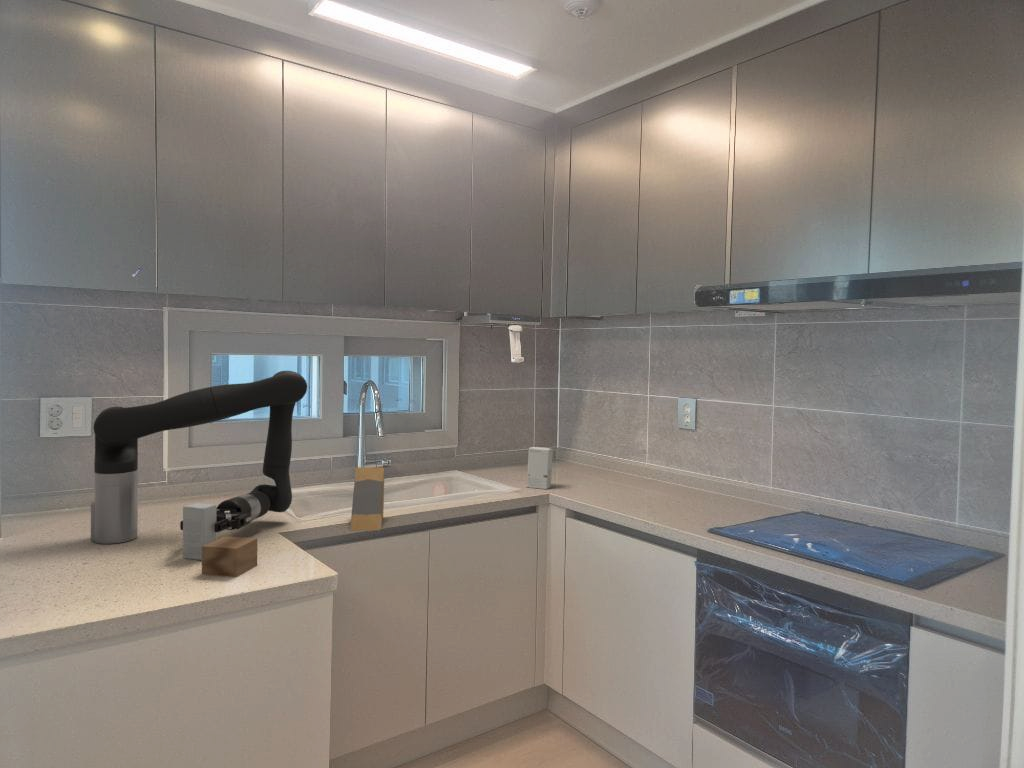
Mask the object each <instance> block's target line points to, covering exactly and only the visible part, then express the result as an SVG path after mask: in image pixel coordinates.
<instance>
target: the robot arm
mask: <svg viewBox="0 0 1024 768" xmlns="http://www.w3.org/2000/svg"><path fill="white" fill-rule="evenodd" d="M307 391H308V382H307V380H306V379H305V377H304V376H302V375H301V374H300V373H298V372H297V371H292V370H280V371H278V372H276V373H274V374H273V375H272V376H271V377H270V376H269V377H266V378H263V379H261V380H255V381H252V382H251V381H250V382H244V383H243V382H242V383H230V384H229V383H228V384H220V385H214V386H213V385H212V386H208V387H203V388H200V389H195V390H190V391H186V392H184V393H183V392H182V393H181V394H178V395H175V396H172V397H169V398H167V399H163V400H161V401H157V402H154V403H151V404H150V403H149V404H144V405H136V406H131V407H130V406H129V407H128V406H127V407H123V406H111V407H107V408H105V409H103V410H102V411H101V412H100V413H99V414H98V415H97V416H96V418H95V419H94V422H93V432H94V463H93V464H94V469H93V470H94V471H93V473H94V476H93V477H94V480H93V481H94V483H93V484H94V485H93V486H94V489H93V490H94V501H93V502H91V503H90V541H91V542H94V543H96V544H101V545H102V544H108V545H109V544H119V543H125V542H130V541H134V540H135V539H137V538H138V537H139V536H138V530H139V529H138V521H139V520H138V515H139V514H138V512H139V511H138V510H139V509H138V508H139V507H138V503H139V502H138V499H139V497H138V490H139V489H138V488H139V487H138V486H139V485H138V483H139V482H138V479H139V477H138V473H139V472H138V466H139V465H138V461H139V459H138V458H139V456H138V455H139V452H138V448H139V447H138V443H139V442H138V439H140V438H144V437H147V436H150V435H152V434H157V433H160V432H165V431H172V430H178V429H185V428H190V427H195V426H200V425H205V424H209V423H213V422H218V421H221V420H222V421H223V420H227V419H229V418H230V419H231V418H233V417H236V416H238V415H242V414H246V413H248V412H251V411H254V410H258V409H262V408H268V407H269V421H268V428H267V437H266V444H265V447H264V449H265V450H264V457H263V465H262V475H264V476H265V477H268V478H269V479H272V480H273V481H274V483H275V485H272V484H266V483H265V484H260V485H259V484H258V485H257V486H255V487H253V489H252V490H251V491H250V492H248V493H245V494H241V495H237V496H234V497H231V498H229V499H225V500H223V501H221V502H220V503H219V504H218V505H216V523H215V532H217V533H220V532H224V531H225V530H226V531H233V530H239V529H241V528H244V527H245V526H248V525H249V524H251V523H252V522H253V521H255V520H256V519H258V518H261V517H263V516H265V515H266V514H267V513H268V512H274V513H285V512H286V511H287V510H288V509H289V508H290V506H291V504H292V501H293V491H292V486H291V477H290V467H291V466H290V465H291V458H292V451H293V450H292V449H293V438H292V437H293V434H292V431H293V430H292V427H293V426H292V425H293V424H292V423H293V416H294V415H293V414H294V410H295V406H296V403H298V402H299V401H301V400H302V399H303V398H305V395H306V394H307ZM179 524H180V525H179V528H180V531H183V520H181V521H180V522H179Z"/></svg>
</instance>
